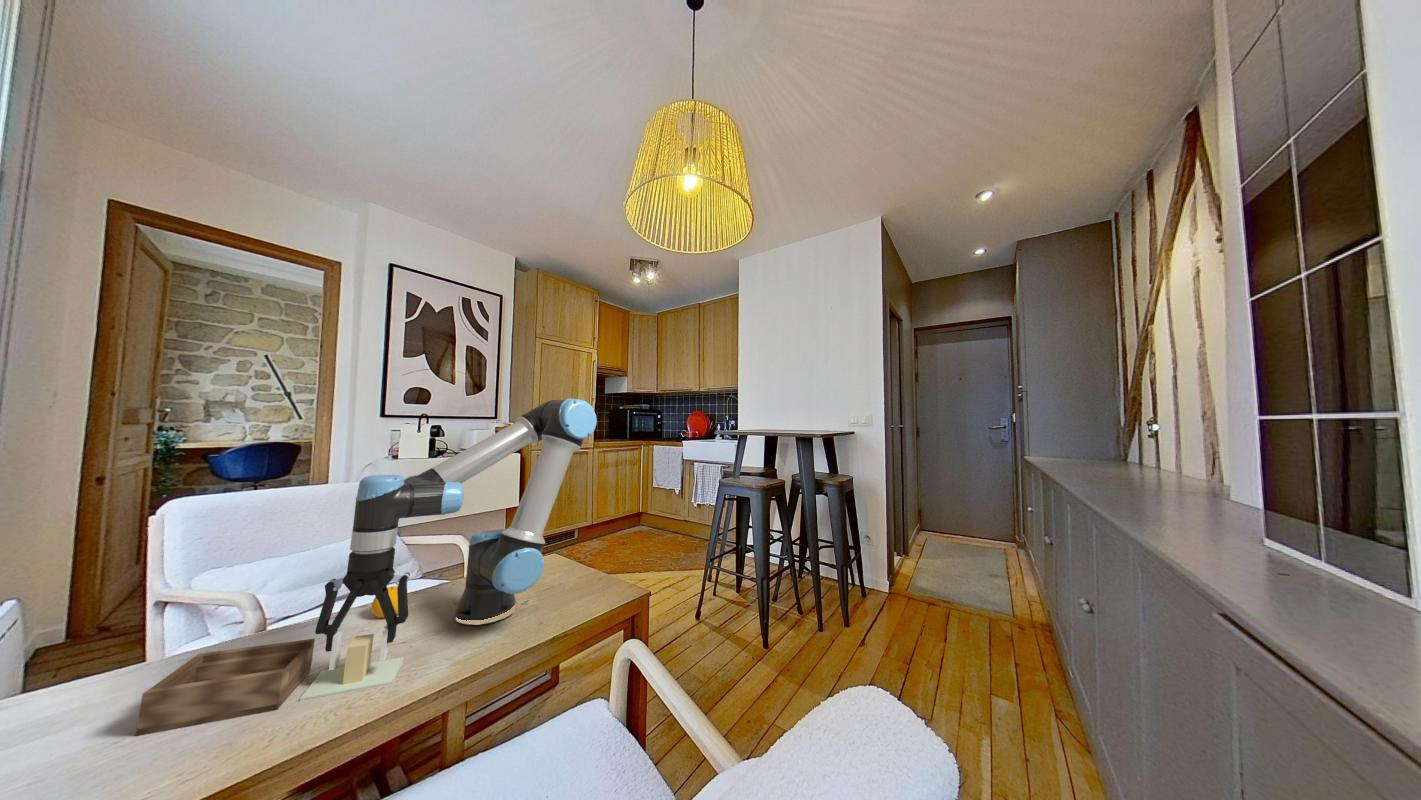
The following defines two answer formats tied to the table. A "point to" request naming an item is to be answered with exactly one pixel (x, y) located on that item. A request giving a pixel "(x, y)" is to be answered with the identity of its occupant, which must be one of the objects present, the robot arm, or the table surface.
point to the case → (225, 686)
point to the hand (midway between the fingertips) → (359, 662)
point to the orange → (394, 599)
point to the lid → (354, 672)
